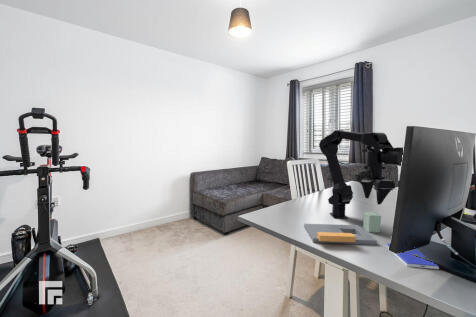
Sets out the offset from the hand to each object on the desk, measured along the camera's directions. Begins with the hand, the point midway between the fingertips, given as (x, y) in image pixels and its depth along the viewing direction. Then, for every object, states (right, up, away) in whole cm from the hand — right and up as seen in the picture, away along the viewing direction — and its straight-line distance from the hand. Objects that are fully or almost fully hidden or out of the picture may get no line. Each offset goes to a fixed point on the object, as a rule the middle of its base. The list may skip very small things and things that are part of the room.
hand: (372, 201), depth 89 cm
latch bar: (-21, -11, -13) cm, 27 cm away
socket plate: (-17, -12, -5) cm, 22 cm away
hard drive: (-1, -14, -20) cm, 25 cm away
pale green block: (-1, -12, 0) cm, 12 cm away
